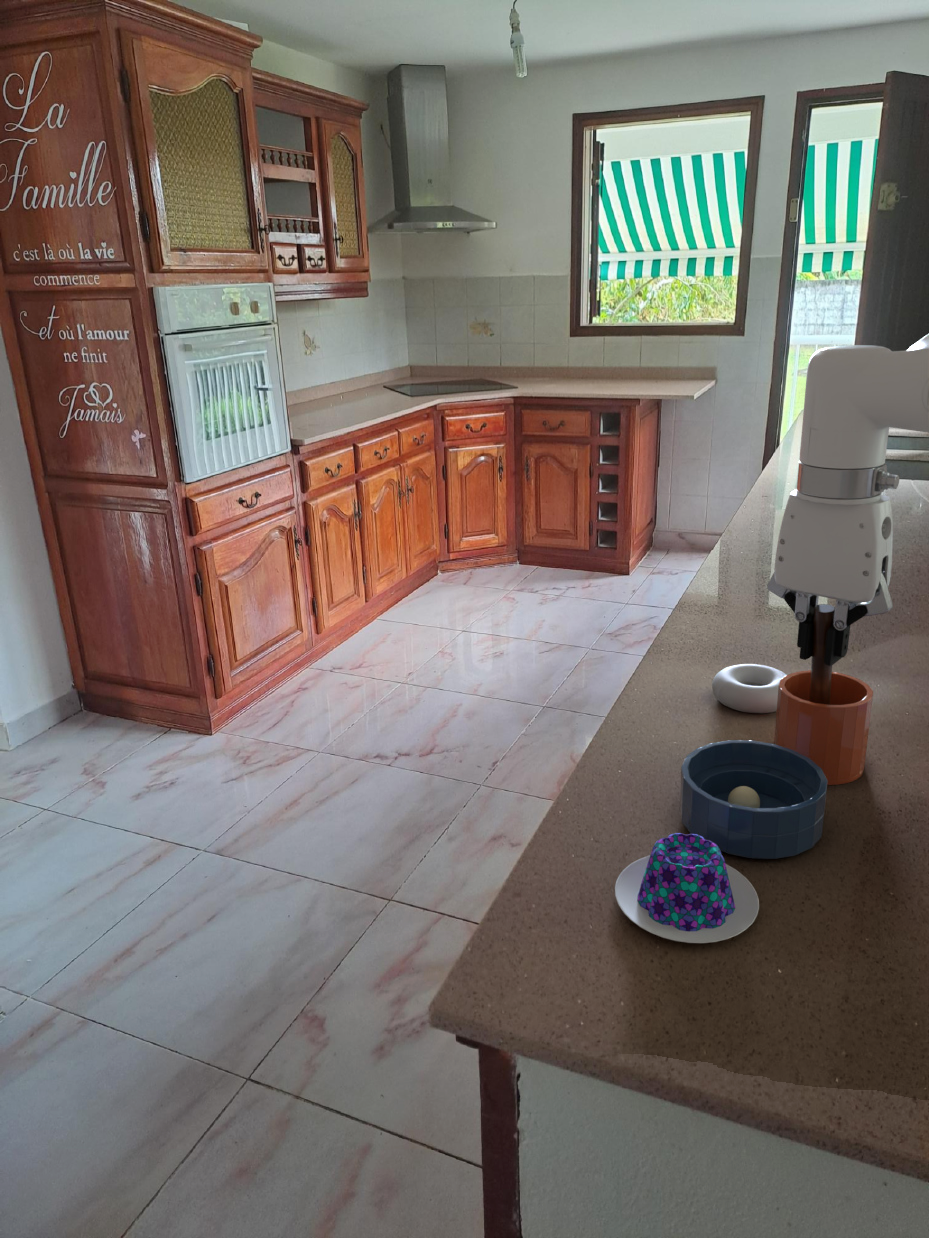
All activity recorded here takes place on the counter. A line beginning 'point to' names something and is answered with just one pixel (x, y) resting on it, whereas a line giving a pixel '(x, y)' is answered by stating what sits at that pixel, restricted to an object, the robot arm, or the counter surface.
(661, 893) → the pudding
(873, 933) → the counter surface
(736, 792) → the dough ball
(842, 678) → the crock
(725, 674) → the donut
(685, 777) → the bowl
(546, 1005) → the counter surface
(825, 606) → the stick
